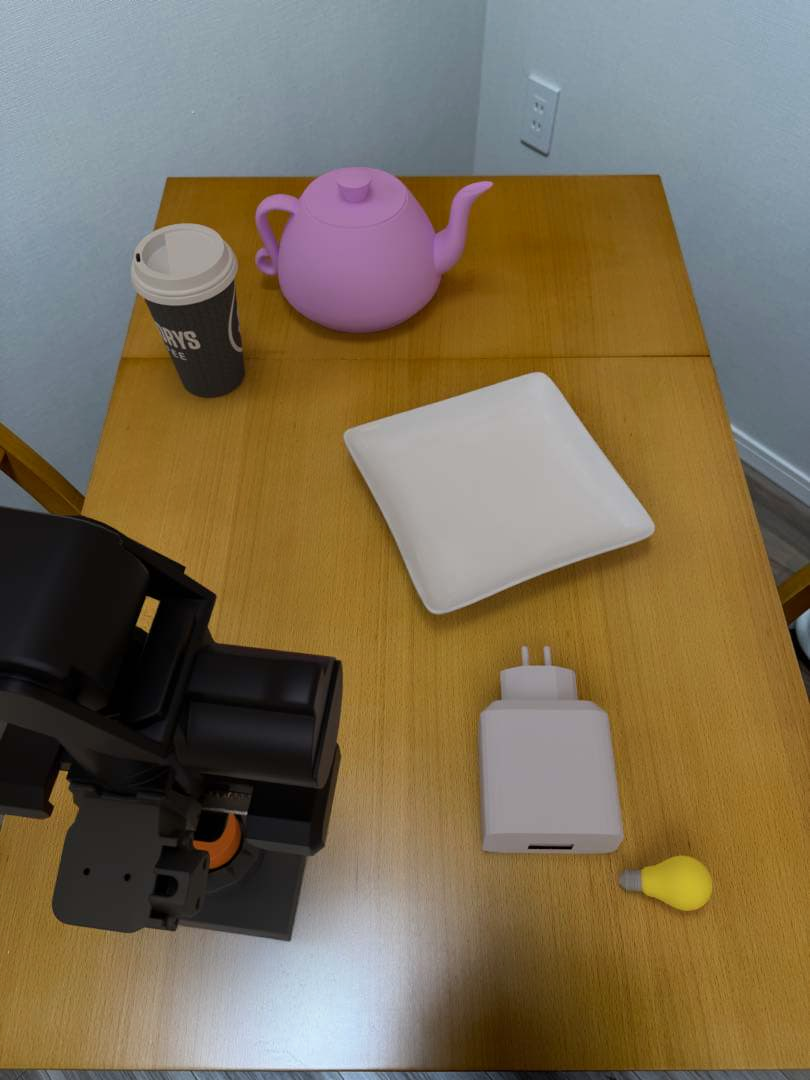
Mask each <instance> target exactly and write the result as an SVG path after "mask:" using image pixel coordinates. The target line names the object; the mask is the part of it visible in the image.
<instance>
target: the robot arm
mask: <svg viewBox="0 0 810 1080" xmlns="http://www.w3.org/2000/svg"><path fill="white" fill-rule="evenodd" d="M186 569H187V566H185V565H183V564H182V563H179V562H177V561H176V560H173V559H172V558H170V557H168V556H166V555H164V554H162V553H160V552H158V551H156V550H154V549H152V548H151V547H148V546H146V545H144V544H143V543H140V541H139V542H138V541H137V540H135V539H133V538H131V537H129V536H127V534H125V533H123V532H121V531H120V530H118V529H116V528H115V527H113V526H112V525H109V524H108V523H105V522H103V521H101V520H98V519H95V518H92V517H88V516H85V515H83V514H78V515H77V514H74V515H73V514H71V515H70V514H69V515H67V514H64V515H61V514H55V513H49V512H42V511H37V510H30V509H25V508H18V507H14V506H13V507H12V506H6V505H1V504H0V721H3V722H2V726H1V728H0V815H3V816H4V815H5V816H12V817H20V818H27V819H33V820H41V821H42V820H47V819H49V818H51V817H52V814H53V812H54V809H55V805H54V804H53V803H51V802H50V798H51V796H52V792H53V790H54V788H55V785H56V782H57V779H58V777H59V774H60V772H67V773H66V775H65V776H66V777H65V780H66V781H67V782H68V783H69V785H68V787H67V791H69V792H70V793H71V794H72V803H73V804H74V805H75V806H76V807H77V808H78V810H77V813H76V816H75V819H74V821H73V822H72V823H71V825H69V827H68V828H67V832H66V833H65V837H64V841H63V846H62V851H61V856H60V860H59V865H58V869H57V875H56V879H55V884H54V887H53V888H54V889H53V894H52V899H51V909H52V913H53V915H54V917H55V918H56V919H57V920H58V922H60V923H61V924H64V925H68V926H74V927H81V928H87V929H95V930H102V931H108V932H115V933H123V934H133V933H136V932H139V931H140V930H143V929H145V928H146V929H150V930H151V929H153V930H158V931H167V932H172V933H173V932H174V933H176V931H177V930H178V927H179V926H180V925H179V921H180V917H181V916H186V917H192V916H194V915H195V914H197V913H198V912H199V911H200V910H201V907H202V904H203V901H204V895H205V889H206V883H207V877H208V871H209V865H210V854H209V852H208V851H206V850H199V849H196V848H195V847H194V845H193V840H194V841H201V842H210V843H211V842H215V841H217V840H218V839H220V837H221V836H222V835H223V833H224V831H225V829H226V826H227V823H228V819H229V815H230V813H231V814H239V815H247V821H246V840H247V841H248V843H249V844H251V845H253V846H256V847H259V848H262V849H265V850H270V851H278V852H285V853H292V854H300V855H307V857H314V856H315V855H316V854H318V853H319V852H320V851H322V850H323V849H324V848H325V847H326V842H327V838H328V832H329V826H330V820H331V815H332V809H333V805H334V798H335V793H336V788H337V782H338V777H339V770H340V766H341V760H342V752H341V748H340V744H339V743H338V736H339V729H340V724H341V723H340V722H341V714H342V705H343V693H344V692H343V691H344V669H343V662H342V659H337V657H336V656H330V655H322V654H315V653H306V652H297V651H288V650H280V649H274V648H273V649H272V648H265V647H264V648H263V647H255V646H248V645H240V644H239V645H237V644H230V643H223V642H222V643H221V642H217V641H215V639H214V637H213V635H212V633H211V631H210V628H209V625H210V622H211V618H212V616H213V611H214V608H215V605H216V602H217V598H218V595H217V593H215V592H213V590H211V589H209V588H207V587H206V586H204V585H203V584H201V583H200V582H198V581H196V580H195V579H193V577H190V576H189V575H187V574H186V573H185V572H186ZM147 597H148V598H150V599H153V600H155V601H158V604H157V607H156V610H155V613H154V615H153V618H152V622H151V624H150V627H149V630H148V631H146V630H145V629H143V628H142V627H140V626H138V625H137V624H138V621H139V618H140V615H141V612H142V610H143V607H144V605H145V602H146V599H147ZM235 793H237V794H238V795H237V797H236V798H235V797H234V794H235ZM241 794H245V796H244V798H243V799H242V796H241ZM248 795H252V796H251V799H250V800H249V797H248Z"/></svg>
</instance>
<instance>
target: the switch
mask: <svg viewBox="0 0 810 1080" xmlns="http://www.w3.org/2000/svg"><path fill="white" fill-rule="evenodd" d="M240 841H241V828H240V825H239V822H238V820H237V819H236V817H235V815H234V814H231V813H230V815H229V819H228V823H227V826H226V829H225V831H224V833H223V835H222V836H221V837H220V839H218V840H217V841H215V842H211V843H210V842H201V841H194V840H193V845H194V847H195V848H196V849H199V850H206V851H208V852H209V854H210V865H209V869H213V868H217V867H219V866H221V865H223V864H225V863H226V862H228V861H229V860H230V859H231V858H232V857H233V856H234V854H235V853H236V851H237V850H238V847H239V845H240Z"/></svg>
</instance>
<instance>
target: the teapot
mask: <svg viewBox="0 0 810 1080" xmlns="http://www.w3.org/2000/svg"><path fill="white" fill-rule="evenodd" d="M493 185H494V182H492V181H489V180H488V181H487V180H485V181H478V182H474V183H471V184H467V185H466V186H464V187H462V188H461V189H460V190H459V191H457V193H456V194H455V195H454V198H453V199H452V202H451V205H450V211H449V220H448V223H447V225H446V227H445V228H443V229H441V230H440V231H438V232H436V231H435V229H434V227H433V224H432V222H431V220H430V218H429V216H428V215H427V213H426V211H425V210H424V208H423V207H422V205H421V204H420V202H418V200H417V199H416V198H415V196H414V195H413V193H412V191H410V189H409V188H408V187H407V186H406V184H405V183H403V182H402V181H401V180H400V179H399V178H398V177H396V176H395V175H393V174H391V173H389V172H386V171H384V170H381V169H378V168H373V167H365V166H364V167H363V166H350V167H344V168H343V167H342V168H338V169H334V170H331V171H328V172H326V173H323V174H322V175H320V176H318V177H316V178H315V179H314V180H313V181H311V183H309V185H308V186H307V187H306V188H305V190H303V192H302V194H301V195H300V197H299V198H297V197H295V196H293V195H289V194H285V193H277V194H273V195H270V196H267V197H265V198H264V199H263V200H261V202H260V203H259V204H258V206H257V208H256V211H255V215H254V218H255V226H256V230H257V233H258V235H259V237H260V240H261V242H262V243H263V245H264V246H263V247H261V248H259V249H258V250H257V252H256V254H255V255H254V262H255V267H256V268H257V269H258V270H259V272H261V273H262V274H264V275H266V276H271V277H274V276H277V277H278V283H279V287H280V291H281V292H282V294H283V296H284V297H285V299H286V301H287V302H288V303H289V304H290V305H291V307H292V308H293V309H295V310H296V311H297V312H298V313H299V314H301V315H302V316H304V317H305V318H306V319H308V320H310V321H312V322H313V323H315V324H317V325H320V326H322V327H324V328H327V329H330V330H333V331H336V332H342V333H348V334H349V333H350V334H368V333H369V334H370V333H376V332H380V331H385V330H389V329H391V328H394V327H397V326H399V325H400V324H402V323H404V322H406V321H407V320H409V319H411V318H412V317H413V316H415V315H416V314H417V313H419V312H420V311H421V310H422V309H423V308H424V307H425V306H426V305H427V304H428V303H430V301H431V300H432V298H433V297H434V296H435V294H436V293H437V291H438V288H439V287H440V283H441V281H442V275H443V274H445V273H447V272H448V271H450V270H451V269H452V268H453V267H454V266H456V264H457V263H458V262H459V260H460V258H461V257H462V255H463V253H464V250H465V246H466V243H467V242H466V241H467V236H468V223H469V217H470V211H471V209H472V206H473V204H474V203H475V201H476V200H477V199H478V198H479V197H480V196H481V195H483V194H484V193H485V192H487V191H488V190H489V189H490V188H492V187H493ZM273 211H283V212H287V213H290V215H289V217H288V218H287V221H286V223H285V225H284V228H283V231H282V234H281V237H280V241H279V243H278V240H277V238H276V236H275V234H274V232H273V230H272V228H271V225H270V223H269V219H268V213H269V212H273ZM266 257H268V258H270V259H271V260H269V259H268V258H266Z"/></svg>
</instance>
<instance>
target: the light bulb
mask: <svg viewBox="0 0 810 1080" xmlns="http://www.w3.org/2000/svg"><path fill="white" fill-rule="evenodd" d="M712 879H713V878H712V876H711V873H710V872H709V870H708V868H707V867H706V866H705V865H704V864H703V863H702V862H701V861H700V860H698V859H696V858H694V857H693V856H689V855H685V854H684V855H683V854H681V855H673V856H671V857H669V858H666V859H664V860H662V861H660V862H658V863H657V864H655V865H645V866H644V867H643V868H642V869H641V870H640V869H637V870H636V869H634V870H633V869H625V870H623V872H622V873H621V874H620V875H619V876H618V884H619V885H620V886H621V887H622V888H623V889H624V890H625V892H631V891H632V892H638V893H639V892H642V893H643V894H644V895H646V896H647V897H651V898H656V899H658V900H660V901H661V902H663V903H665V904H667V905H668V906H670V907H672V908H674V909H676V910H680V911H685V912H689V911H696V910H698V909H700V908H702V907H704V905H706V903H708V901H709V900H710V898H711V896H712V893H713V884H714V883H713V880H712Z"/></svg>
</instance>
